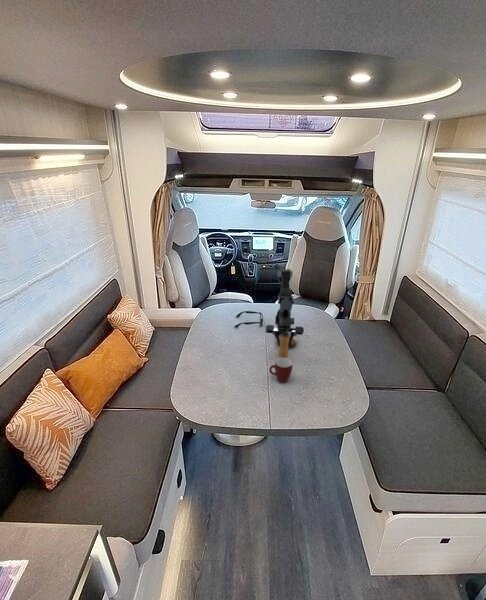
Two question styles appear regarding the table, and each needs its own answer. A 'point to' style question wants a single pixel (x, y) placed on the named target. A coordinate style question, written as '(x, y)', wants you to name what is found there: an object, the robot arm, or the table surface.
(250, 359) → the table surface
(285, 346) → the pepper mill
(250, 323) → the glasses
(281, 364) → the mug
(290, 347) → the bread roll
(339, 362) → the table surface
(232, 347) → the table surface
